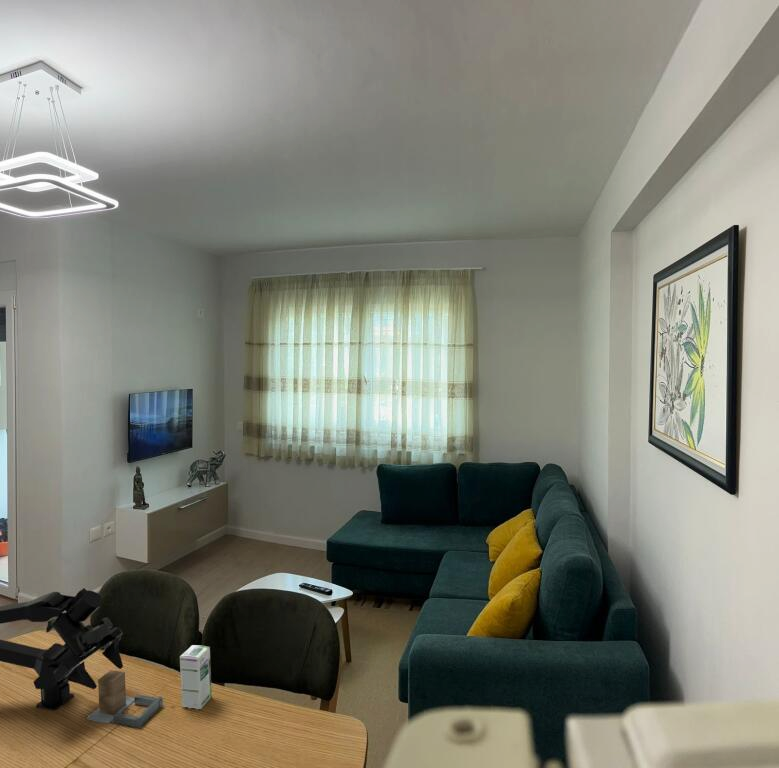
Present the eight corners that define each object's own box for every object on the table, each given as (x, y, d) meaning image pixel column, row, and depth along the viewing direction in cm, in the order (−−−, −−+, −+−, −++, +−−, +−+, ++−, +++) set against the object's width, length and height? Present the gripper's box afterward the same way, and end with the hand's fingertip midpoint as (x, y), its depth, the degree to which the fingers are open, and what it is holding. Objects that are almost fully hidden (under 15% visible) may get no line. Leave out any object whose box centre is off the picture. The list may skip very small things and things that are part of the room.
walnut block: (99, 712, 142) (98, 679, 141) (112, 701, 146) (110, 669, 146) (113, 715, 141) (112, 682, 140) (126, 704, 145) (124, 672, 145)
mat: (86, 719, 140) (86, 718, 140) (114, 695, 149) (114, 694, 149) (108, 723, 138) (108, 722, 138) (136, 699, 148) (135, 698, 148)
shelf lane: (113, 723, 138) (113, 713, 138) (137, 701, 147) (137, 692, 147) (139, 728, 136) (139, 718, 136) (162, 705, 145) (162, 696, 145)
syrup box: (200, 710, 143) (199, 657, 142) (180, 707, 144) (179, 655, 143) (212, 697, 148) (210, 646, 148) (192, 694, 150) (191, 643, 149)
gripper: (60, 631, 134) (98, 680, 132) (116, 598, 153) (150, 641, 150) (37, 657, 137) (74, 706, 135) (94, 622, 155) (127, 664, 153)
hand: (109, 677), depth 143 cm, fingers open, 9 cm apart
